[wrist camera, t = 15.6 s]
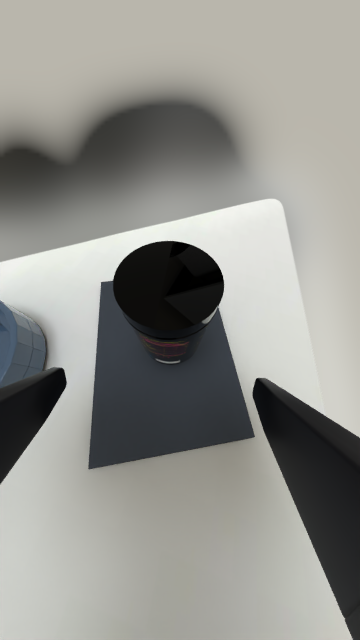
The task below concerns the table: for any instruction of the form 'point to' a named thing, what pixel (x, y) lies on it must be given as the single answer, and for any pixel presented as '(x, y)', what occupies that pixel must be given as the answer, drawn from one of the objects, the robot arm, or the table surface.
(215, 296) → the supplement container
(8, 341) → the bowl
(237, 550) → the table surface
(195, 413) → the placemat
